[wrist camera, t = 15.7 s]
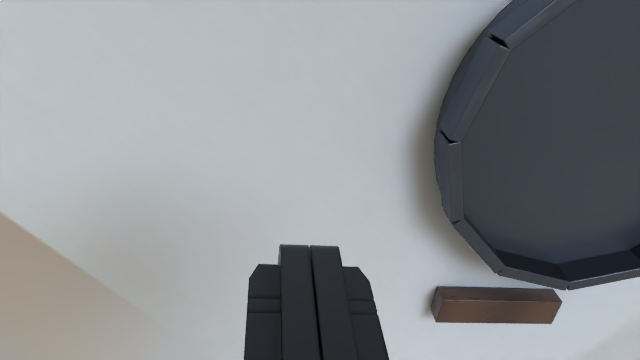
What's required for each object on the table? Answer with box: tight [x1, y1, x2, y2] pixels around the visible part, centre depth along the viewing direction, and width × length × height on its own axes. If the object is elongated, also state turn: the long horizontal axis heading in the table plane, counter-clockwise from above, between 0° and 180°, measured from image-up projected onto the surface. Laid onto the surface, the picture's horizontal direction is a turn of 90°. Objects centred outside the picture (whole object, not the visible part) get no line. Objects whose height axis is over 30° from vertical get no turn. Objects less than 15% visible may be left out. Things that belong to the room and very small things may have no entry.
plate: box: [434, 0, 640, 290], centre depth 24 cm, size 18×18×3 cm
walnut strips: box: [431, 287, 562, 324], centre depth 24 cm, size 8×27×1 cm, turn 174°
